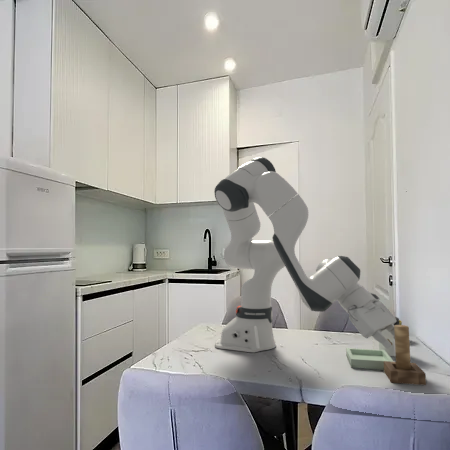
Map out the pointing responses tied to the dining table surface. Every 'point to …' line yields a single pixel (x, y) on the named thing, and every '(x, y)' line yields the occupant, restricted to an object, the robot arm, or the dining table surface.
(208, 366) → the dining table surface
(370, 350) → the tray
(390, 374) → the socket block
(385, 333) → the jar
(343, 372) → the dining table surface
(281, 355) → the dining table surface
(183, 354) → the dining table surface
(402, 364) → the dowel
